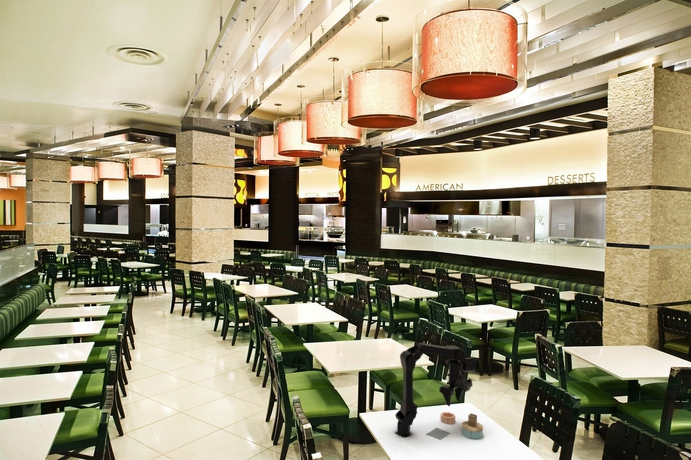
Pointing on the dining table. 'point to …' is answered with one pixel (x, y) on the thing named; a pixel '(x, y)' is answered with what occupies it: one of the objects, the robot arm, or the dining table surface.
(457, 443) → the dining table surface
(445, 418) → the small bowl
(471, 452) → the dining table surface
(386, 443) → the dining table surface
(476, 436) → the bowl
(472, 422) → the lid
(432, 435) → the mat
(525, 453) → the dining table surface
